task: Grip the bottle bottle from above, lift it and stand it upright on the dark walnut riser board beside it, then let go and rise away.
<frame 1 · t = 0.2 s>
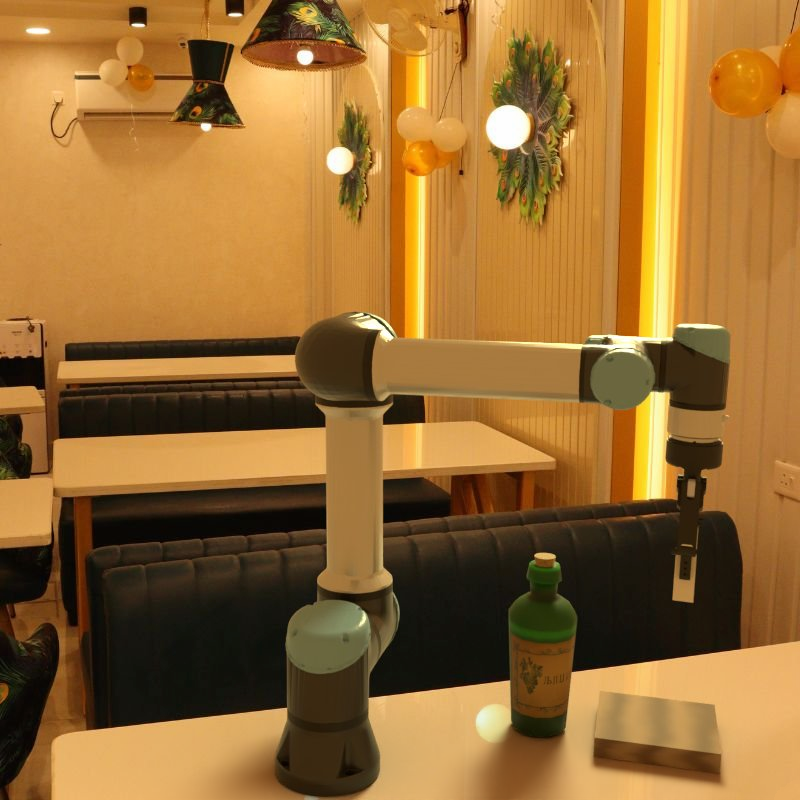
hand: (684, 584, 141), 28 cm above the table, tool pointing down, fingers open, 13 cm apart
walnut riser: (655, 738, 155), on the table
bottle: (538, 727, 158), on the table
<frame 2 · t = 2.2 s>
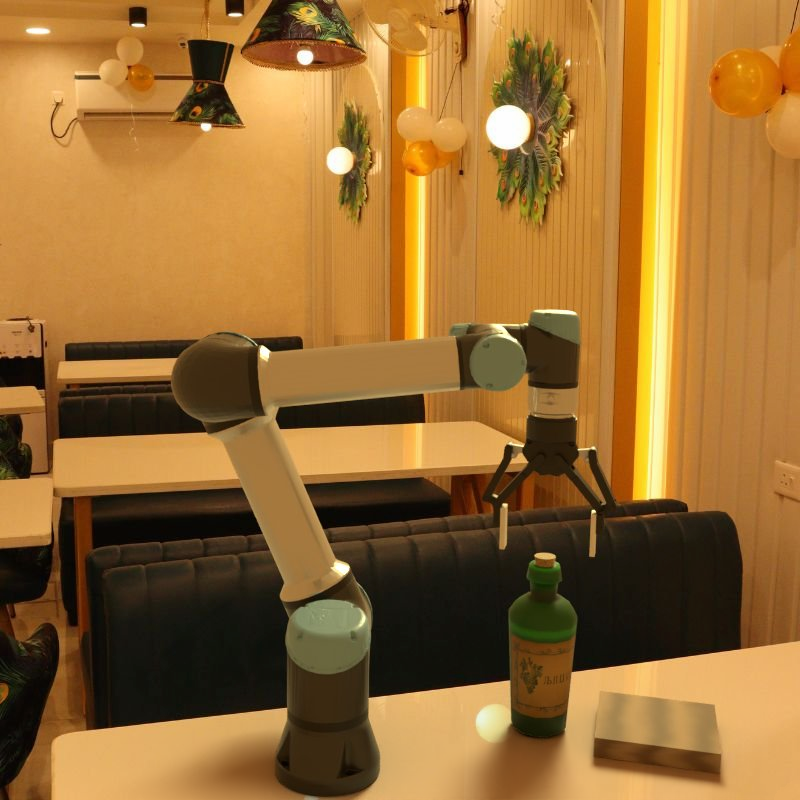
hand: (547, 550, 153), 29 cm above the table, tool pointing down, fingers open, 13 cm apart
nothing on the table moved.
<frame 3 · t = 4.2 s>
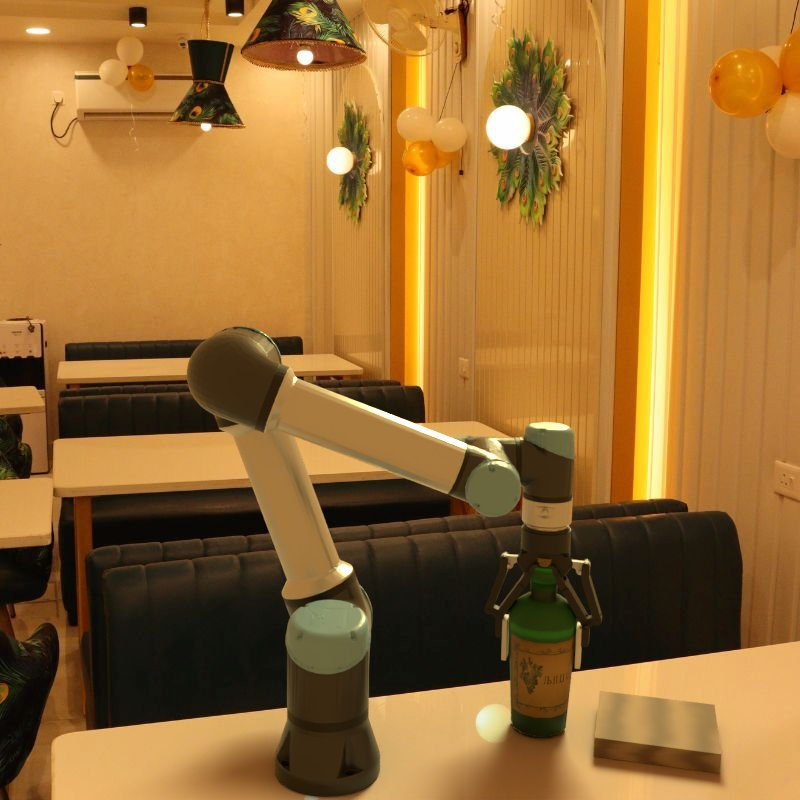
hand: (540, 661, 156), 11 cm above the table, tool pointing down, fingers closed on bottle, 11 cm apart
bottle: (537, 727, 158), on the table, touching gripper
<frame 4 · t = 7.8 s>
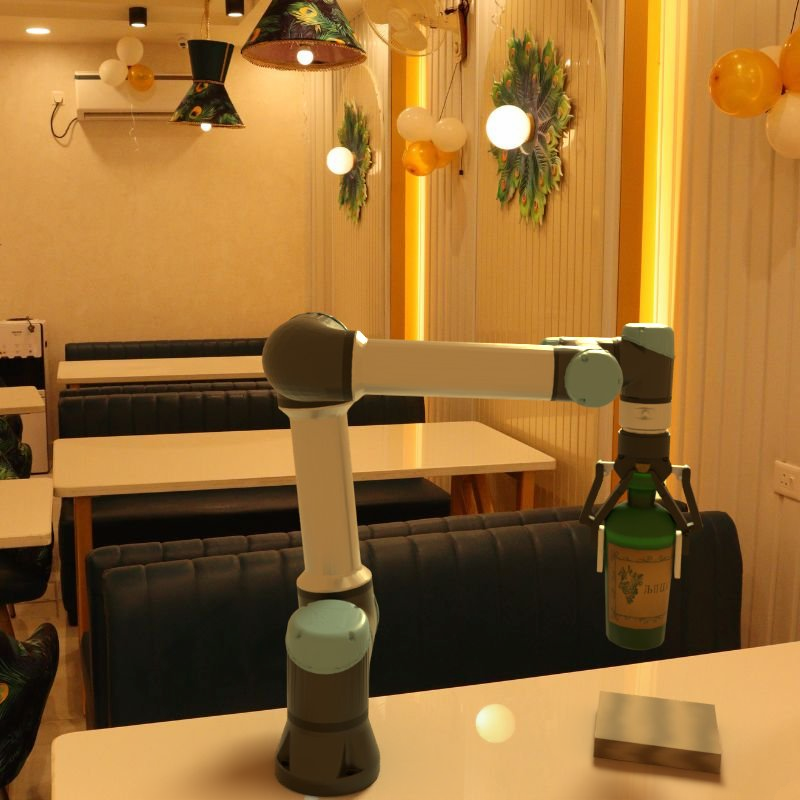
hand: (638, 572, 151), 26 cm above the table, tool pointing down, fingers closed on bottle, 11 cm apart
bottle: (634, 641, 153), point 15 cm above the table, touching gripper
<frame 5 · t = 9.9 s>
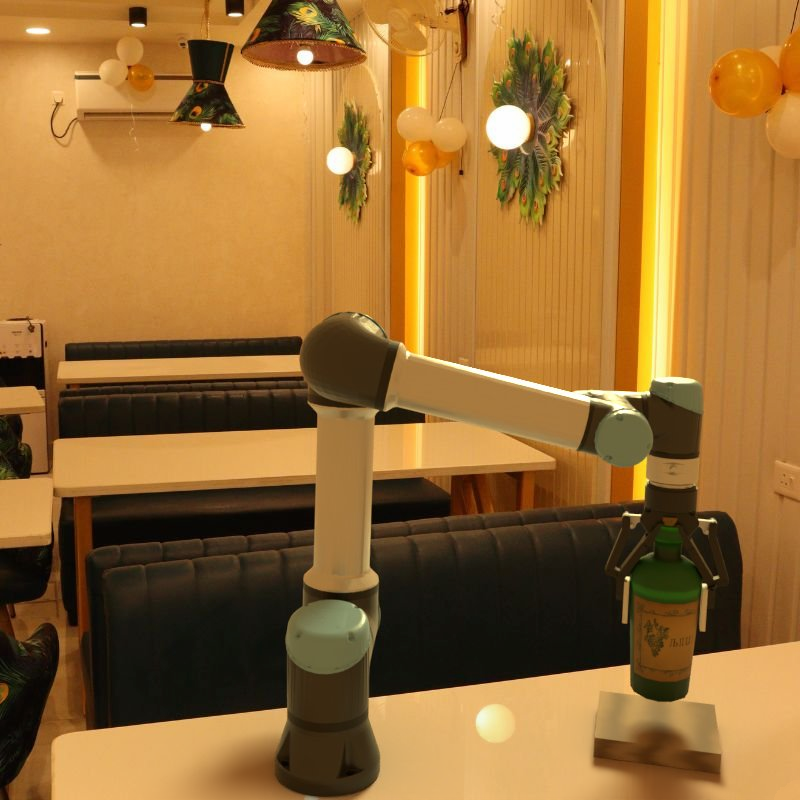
hand: (663, 624, 152), 19 cm above the table, tool pointing down, fingers closed on bottle, 11 cm apart
bottle: (658, 692, 153), point 8 cm above the table, touching gripper
when the fingers open (15 cm above the table, at t = 11.7 s): bottle drops 1 cm, resting on walnut riser.
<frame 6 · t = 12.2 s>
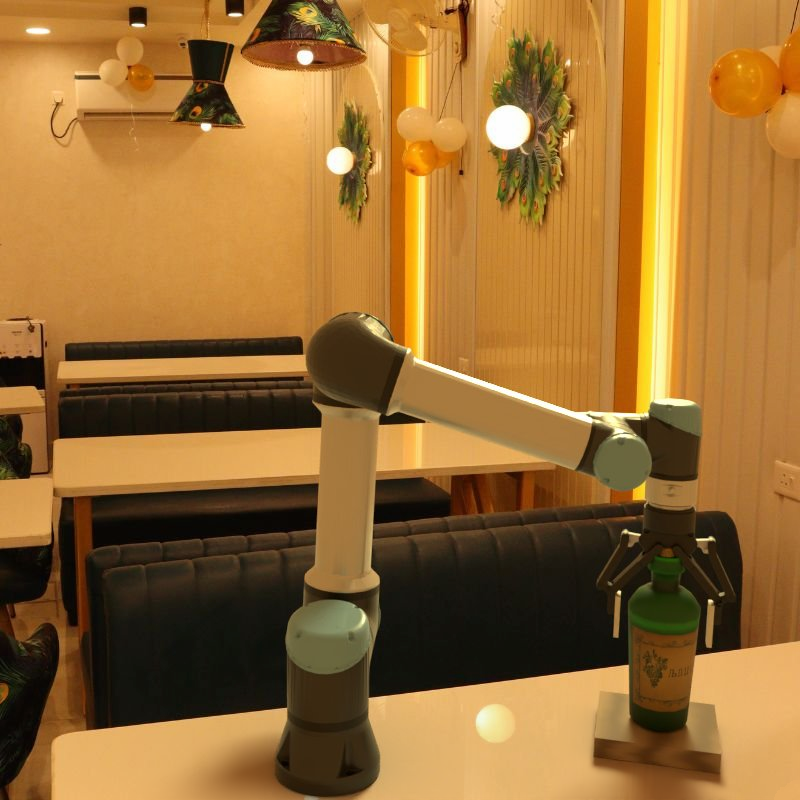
hand: (661, 639, 152), 16 cm above the table, tool pointing down, fingers open, 13 cm apart
bottle: (657, 721, 154), point 3 cm above the table, touching walnut riser
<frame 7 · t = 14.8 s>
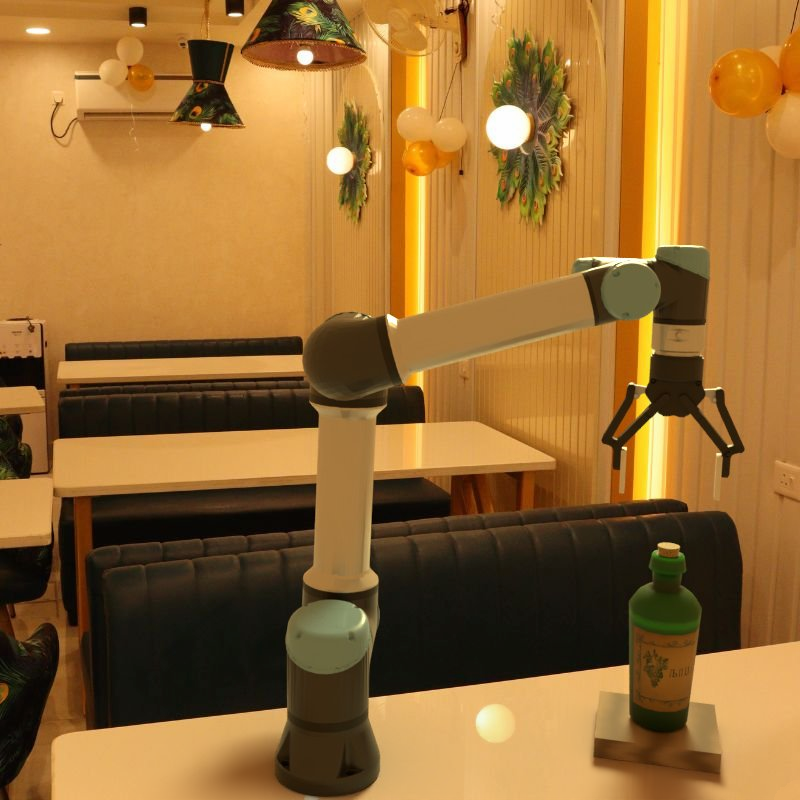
hand: (668, 495, 149), 39 cm above the table, tool pointing down, fingers open, 13 cm apart
nothing on the table moved.
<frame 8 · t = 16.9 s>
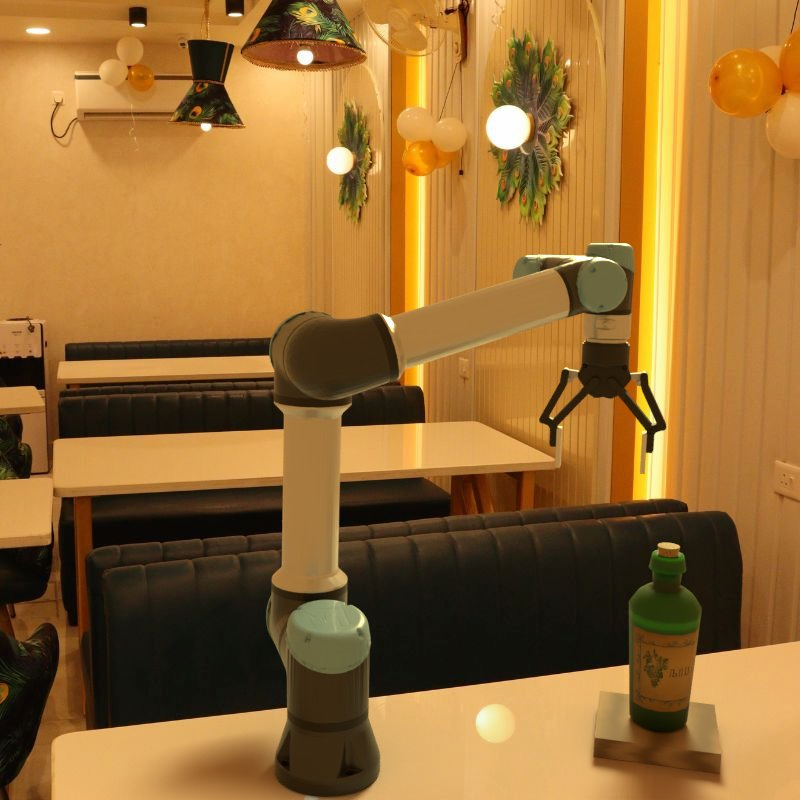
hand: (599, 469, 164), 39 cm above the table, tool pointing down, fingers open, 13 cm apart
nothing on the table moved.
at the end: bottle inside the target area on the walnut riser (0.2 cm from its centre), point 2.8 cm above the walnut riser's base; bottle tilted 0°; bottle touching walnut riser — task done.
